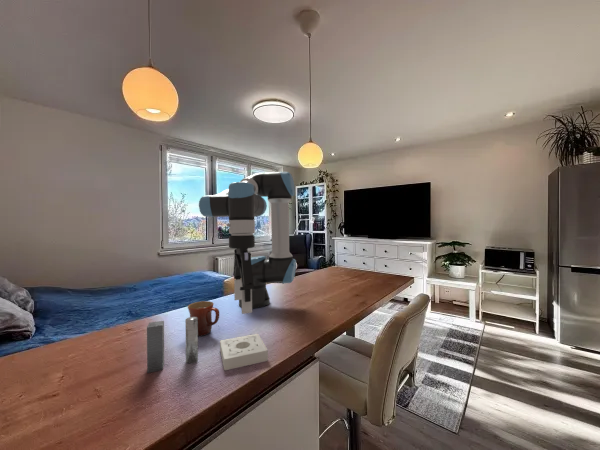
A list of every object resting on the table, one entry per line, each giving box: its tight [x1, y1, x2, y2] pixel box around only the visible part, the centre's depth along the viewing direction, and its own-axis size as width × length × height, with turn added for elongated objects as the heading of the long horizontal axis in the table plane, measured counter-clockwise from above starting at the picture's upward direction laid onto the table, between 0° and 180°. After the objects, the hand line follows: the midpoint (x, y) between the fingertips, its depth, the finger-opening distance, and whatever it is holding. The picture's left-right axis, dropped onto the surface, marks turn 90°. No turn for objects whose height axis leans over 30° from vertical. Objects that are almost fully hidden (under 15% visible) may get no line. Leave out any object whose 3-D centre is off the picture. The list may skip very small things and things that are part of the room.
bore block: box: [219, 333, 269, 371], centre depth 74 cm, size 12×12×3 cm
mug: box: [187, 300, 220, 337], centre depth 89 cm, size 12×9×10 cm
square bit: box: [146, 320, 165, 374], centre depth 68 cm, size 4×4×12 cm
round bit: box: [185, 316, 199, 365], centre depth 71 cm, size 3×3×12 cm
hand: (242, 305), depth 74 cm, fingers open, 13 cm apart
